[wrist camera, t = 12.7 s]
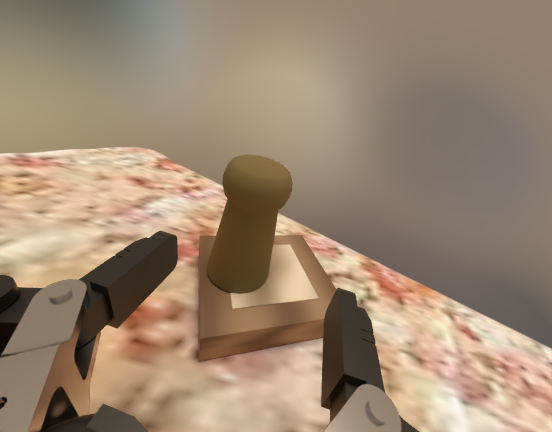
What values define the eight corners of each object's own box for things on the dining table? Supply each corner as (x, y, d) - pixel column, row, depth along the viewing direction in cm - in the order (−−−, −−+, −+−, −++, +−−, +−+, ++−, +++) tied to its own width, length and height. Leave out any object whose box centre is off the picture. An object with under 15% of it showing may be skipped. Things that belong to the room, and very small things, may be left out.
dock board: (198, 361, 17) (199, 337, 15) (198, 256, 26) (199, 235, 25) (340, 333, 21) (352, 313, 20) (296, 252, 31) (302, 234, 29)
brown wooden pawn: (254, 242, 25) (279, 149, 19) (279, 284, 21) (319, 181, 15) (200, 251, 22) (209, 142, 16) (216, 301, 18) (237, 180, 12)
